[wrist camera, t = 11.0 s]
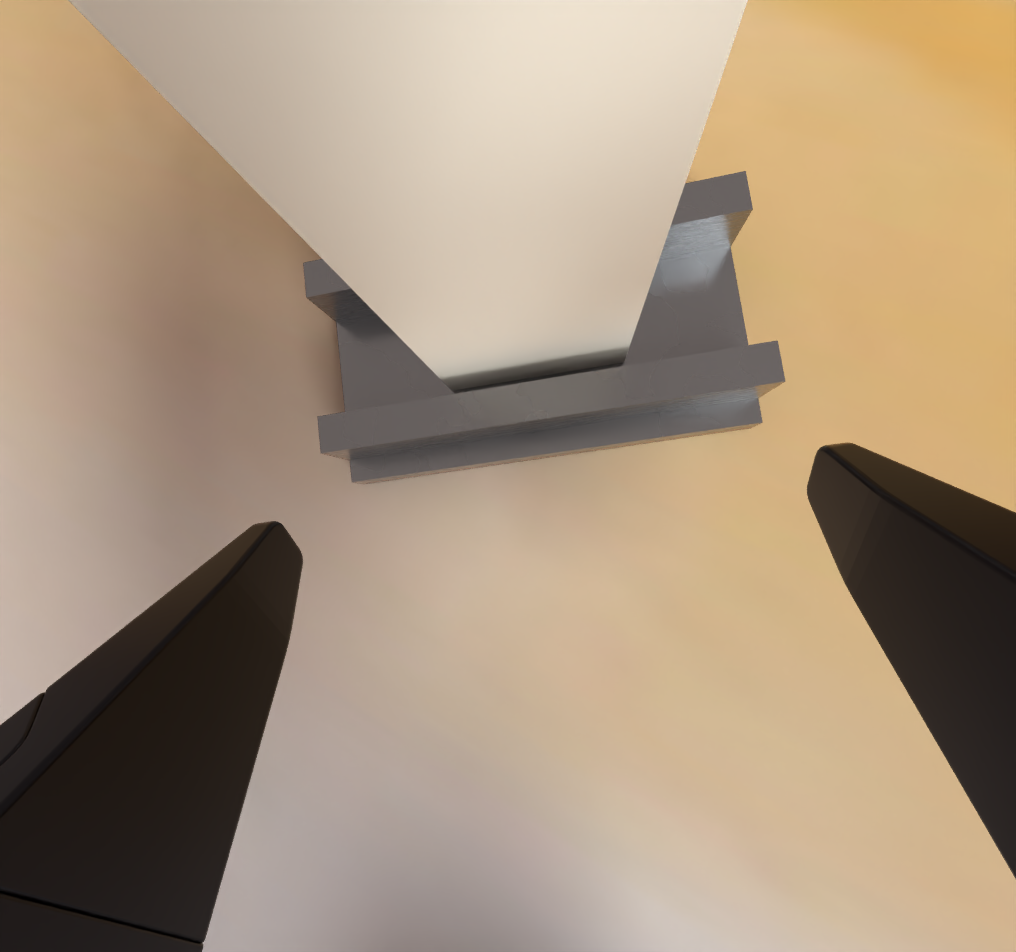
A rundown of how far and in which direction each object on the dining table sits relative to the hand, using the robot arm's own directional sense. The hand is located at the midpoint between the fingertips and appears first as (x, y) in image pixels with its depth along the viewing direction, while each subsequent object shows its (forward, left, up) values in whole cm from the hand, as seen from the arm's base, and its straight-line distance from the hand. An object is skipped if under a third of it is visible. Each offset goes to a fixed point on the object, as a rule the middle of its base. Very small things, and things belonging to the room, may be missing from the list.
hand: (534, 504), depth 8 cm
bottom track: (+3, +5, -9) cm, 11 cm away
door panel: (+3, +5, -8) cm, 10 cm away
